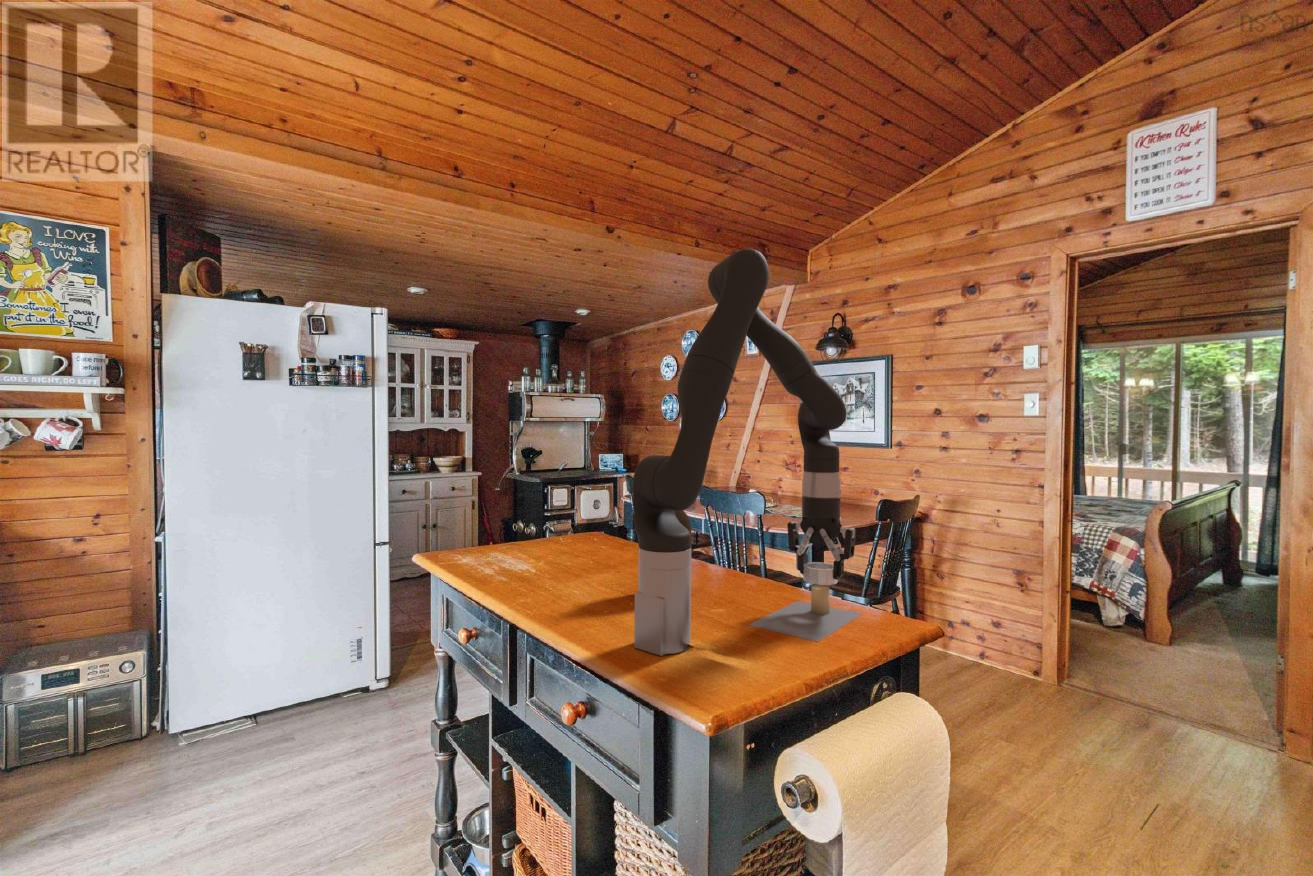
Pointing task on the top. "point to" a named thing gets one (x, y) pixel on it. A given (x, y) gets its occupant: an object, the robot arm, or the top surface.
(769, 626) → the fitting plate
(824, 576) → the steel ring
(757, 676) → the top surface
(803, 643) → the top surface
